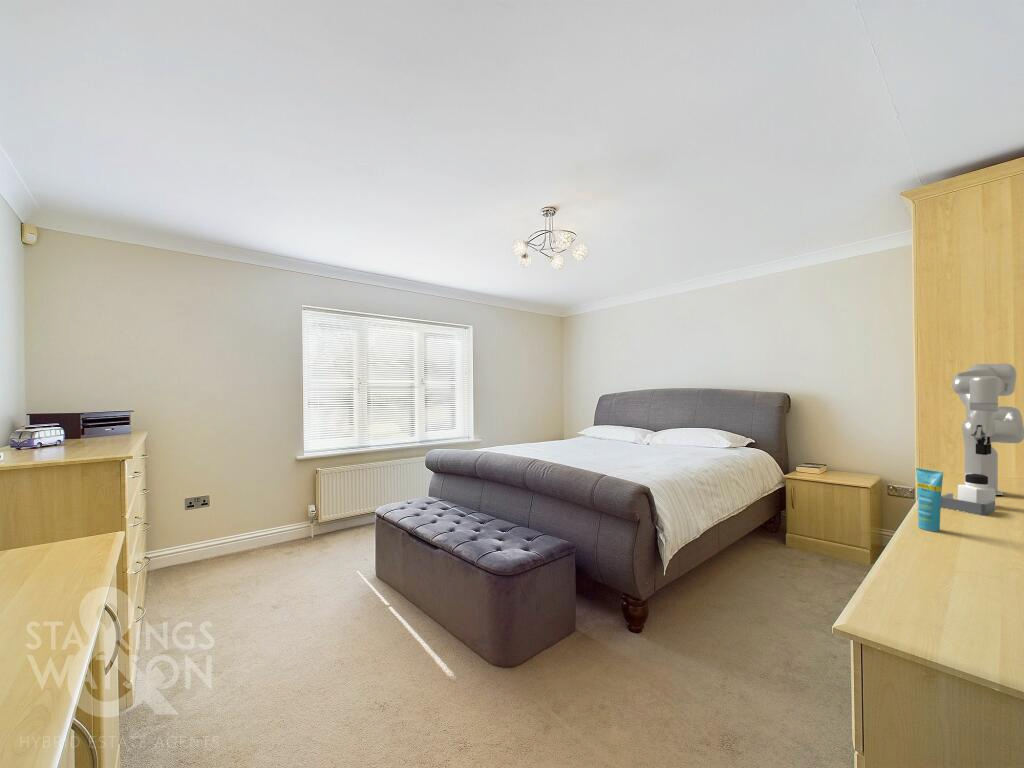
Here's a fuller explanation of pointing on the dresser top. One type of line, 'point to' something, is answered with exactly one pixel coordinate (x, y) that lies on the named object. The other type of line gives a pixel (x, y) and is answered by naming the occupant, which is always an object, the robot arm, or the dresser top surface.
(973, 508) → the box
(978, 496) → the medicine bottle
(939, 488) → the tube
